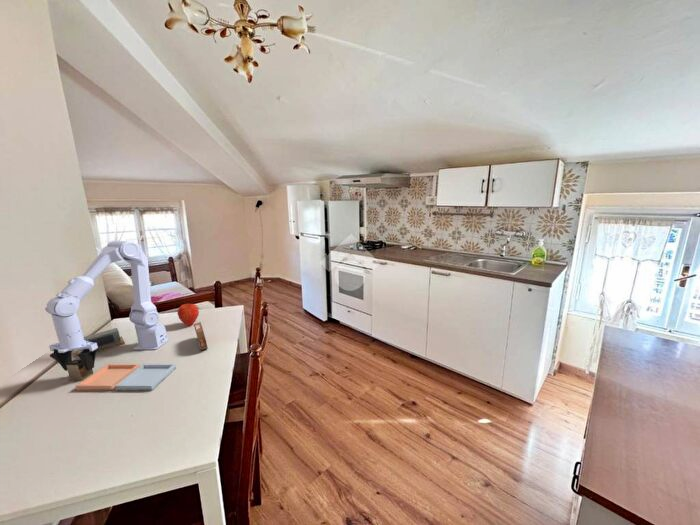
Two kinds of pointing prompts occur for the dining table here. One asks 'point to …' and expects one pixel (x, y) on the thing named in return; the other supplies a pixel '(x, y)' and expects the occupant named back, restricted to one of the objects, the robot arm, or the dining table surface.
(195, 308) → the apple
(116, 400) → the dining table surface
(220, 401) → the dining table surface
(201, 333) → the tin
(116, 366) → the terracotta tray
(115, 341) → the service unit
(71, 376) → the wooden block with knob
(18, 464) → the dining table surface
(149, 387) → the blue-grey tray
